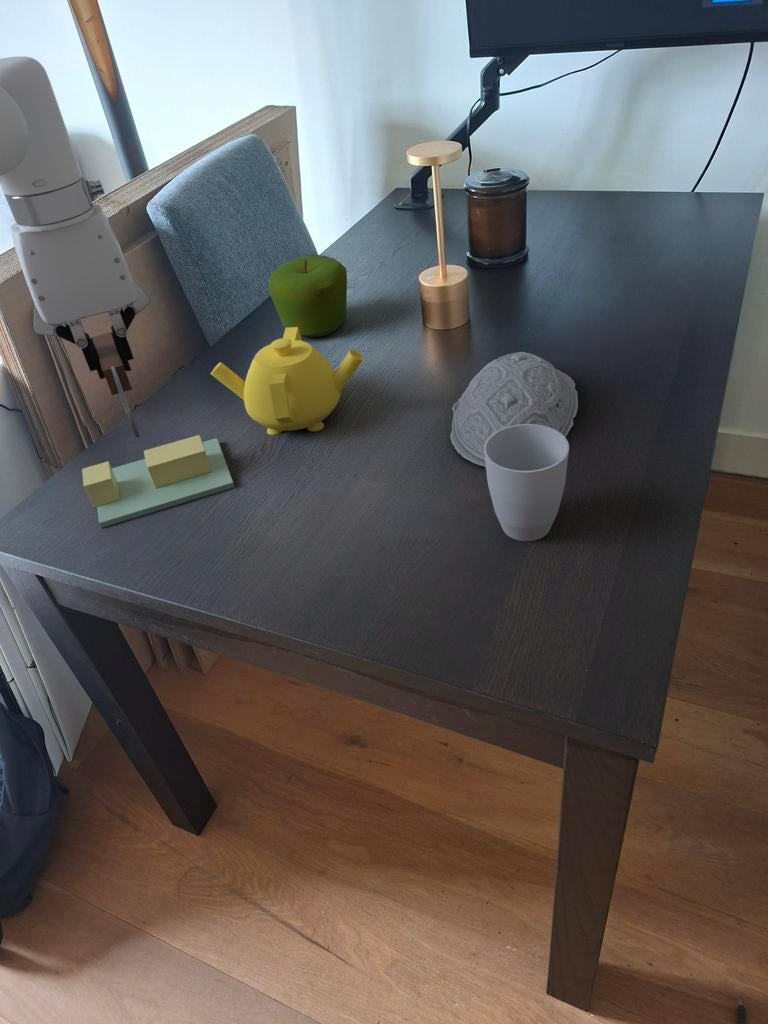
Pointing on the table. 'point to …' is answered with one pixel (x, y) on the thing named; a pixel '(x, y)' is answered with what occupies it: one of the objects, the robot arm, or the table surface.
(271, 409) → the teapot
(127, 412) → the knife
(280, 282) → the apple
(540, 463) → the cup
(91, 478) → the block
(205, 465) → the butter block
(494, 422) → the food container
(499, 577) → the table surface
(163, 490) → the butter dish
